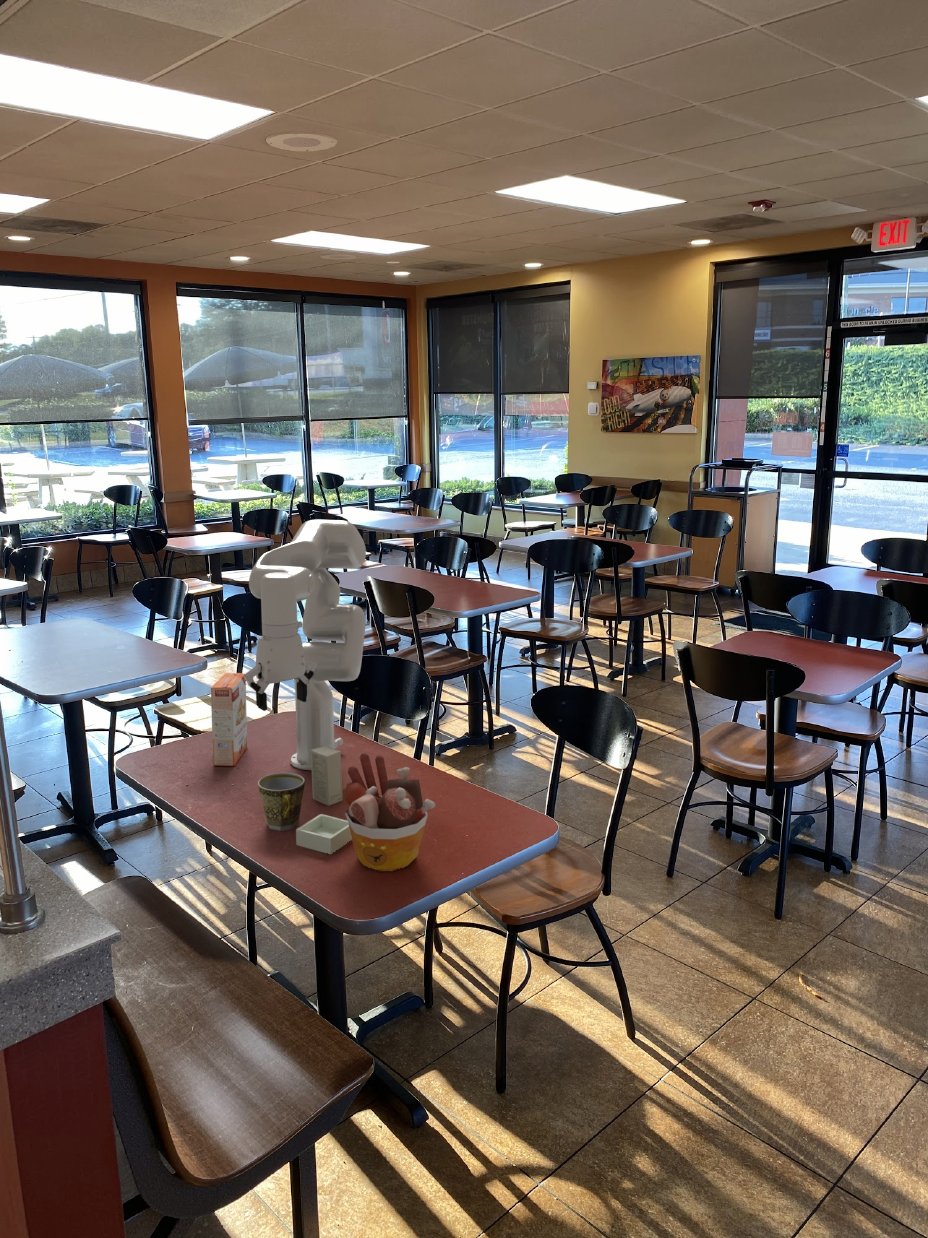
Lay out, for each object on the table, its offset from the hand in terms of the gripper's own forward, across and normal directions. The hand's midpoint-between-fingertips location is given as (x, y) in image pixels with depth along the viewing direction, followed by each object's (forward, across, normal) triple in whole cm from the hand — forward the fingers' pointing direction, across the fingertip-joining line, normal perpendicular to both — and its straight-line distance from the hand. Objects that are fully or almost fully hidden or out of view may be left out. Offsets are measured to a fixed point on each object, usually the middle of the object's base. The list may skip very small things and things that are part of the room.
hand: (282, 704), depth 204 cm
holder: (+24, +1, +20) cm, 32 cm away
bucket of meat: (+24, -4, +34) cm, 42 cm away
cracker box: (+25, -4, -36) cm, 45 cm away
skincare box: (+25, -10, +2) cm, 27 cm away
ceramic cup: (+25, +5, +9) cm, 27 cm away
